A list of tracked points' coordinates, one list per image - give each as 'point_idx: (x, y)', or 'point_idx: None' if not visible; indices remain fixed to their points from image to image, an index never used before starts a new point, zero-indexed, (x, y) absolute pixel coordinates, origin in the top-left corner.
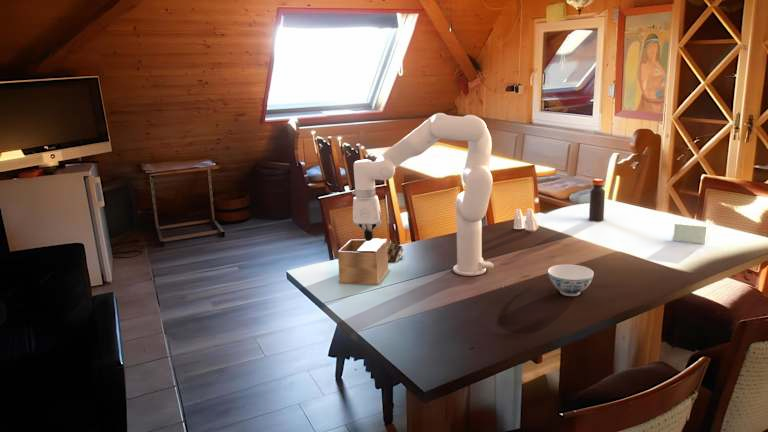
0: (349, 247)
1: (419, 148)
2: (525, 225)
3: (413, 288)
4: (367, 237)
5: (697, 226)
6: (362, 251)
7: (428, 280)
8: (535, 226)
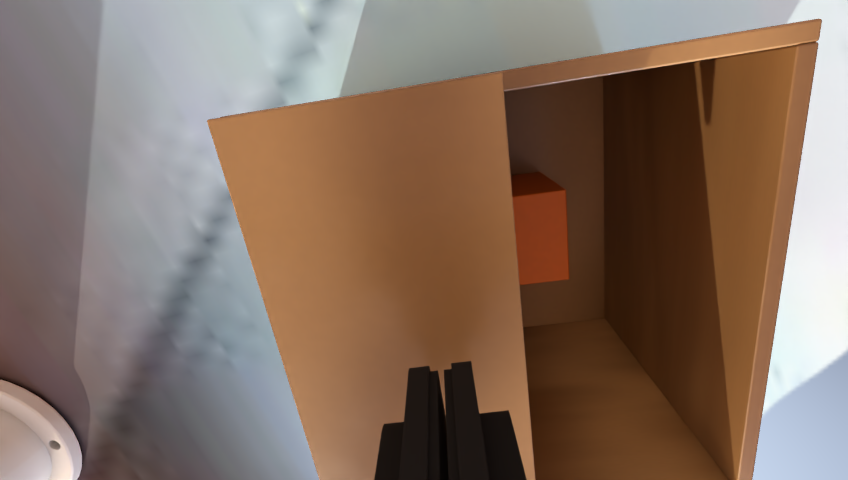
0: (703, 380)
1: None
2: None
3: (98, 124)
4: (445, 404)
5: None
6: (412, 86)
7: (100, 270)
8: None
